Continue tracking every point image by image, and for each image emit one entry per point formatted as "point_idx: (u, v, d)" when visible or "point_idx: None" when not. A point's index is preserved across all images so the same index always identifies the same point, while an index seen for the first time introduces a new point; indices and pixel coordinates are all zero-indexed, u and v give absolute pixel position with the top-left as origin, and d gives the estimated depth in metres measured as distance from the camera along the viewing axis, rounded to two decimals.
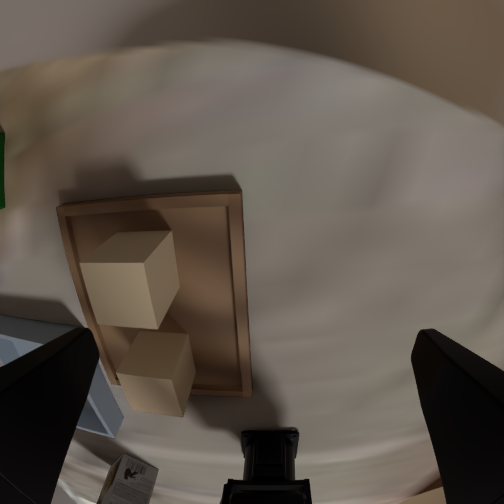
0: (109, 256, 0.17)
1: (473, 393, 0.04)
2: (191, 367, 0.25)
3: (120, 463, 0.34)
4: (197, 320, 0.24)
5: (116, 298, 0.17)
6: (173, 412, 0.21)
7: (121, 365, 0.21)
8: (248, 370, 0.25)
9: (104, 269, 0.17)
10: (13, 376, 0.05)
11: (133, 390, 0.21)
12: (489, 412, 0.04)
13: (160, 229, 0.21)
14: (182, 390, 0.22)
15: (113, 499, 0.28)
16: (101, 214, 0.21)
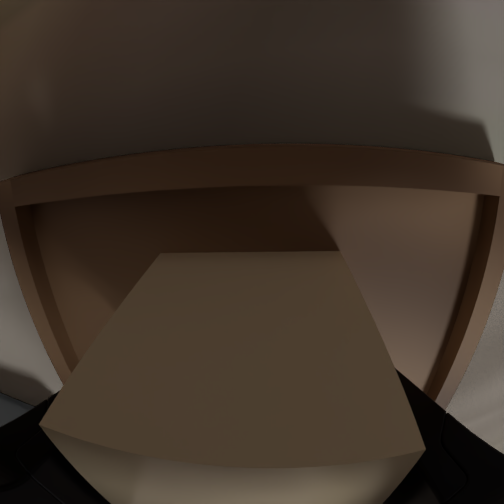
0: (183, 397, 0.03)
1: None
2: None
3: None
4: None
5: None
6: None
7: None
8: None
9: (180, 477, 0.03)
10: None
11: None
12: None
13: (305, 248, 0.07)
14: None
15: None
16: (113, 199, 0.07)
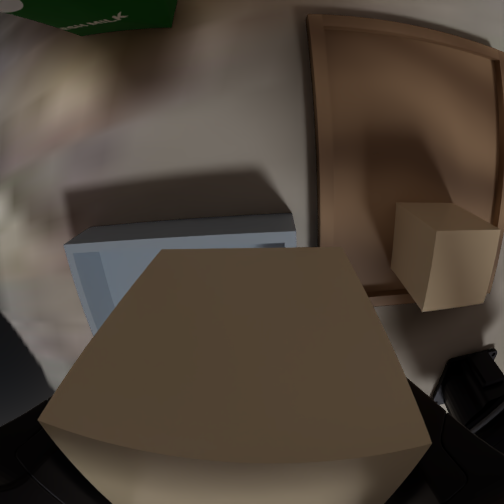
0: (185, 392, 0.03)
1: None
2: None
3: None
4: (465, 183, 0.17)
5: None
6: (477, 296, 0.14)
7: (429, 224, 0.14)
8: (499, 250, 0.18)
9: (182, 474, 0.03)
10: None
11: (447, 264, 0.13)
12: None
13: (441, 67, 0.14)
14: None
15: None
16: (372, 37, 0.14)
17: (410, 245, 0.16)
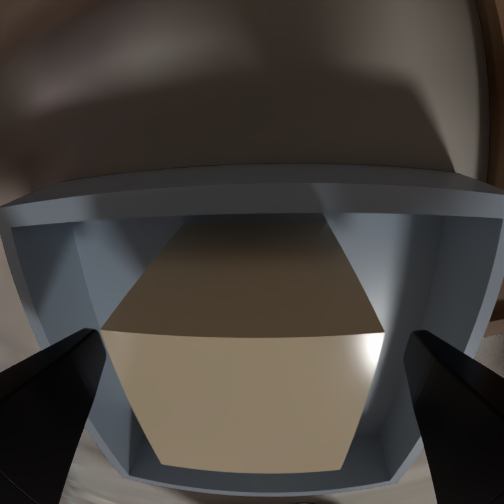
0: (212, 303, 0.05)
1: (464, 395, 0.04)
2: None
3: None
4: None
5: (238, 429, 0.05)
6: None
7: None
8: None
9: (209, 359, 0.05)
10: (20, 378, 0.05)
11: None
12: (480, 415, 0.04)
13: None
14: None
15: None
16: None
17: None
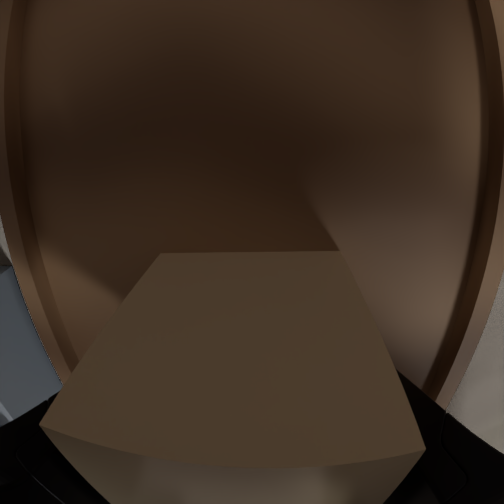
0: None
1: None
2: None
3: None
4: (382, 196, 0.07)
5: None
6: None
7: (72, 381, 0.04)
8: (471, 353, 0.08)
9: None
10: None
11: (145, 501, 0.03)
12: None
13: None
14: None
15: None
16: None
17: None
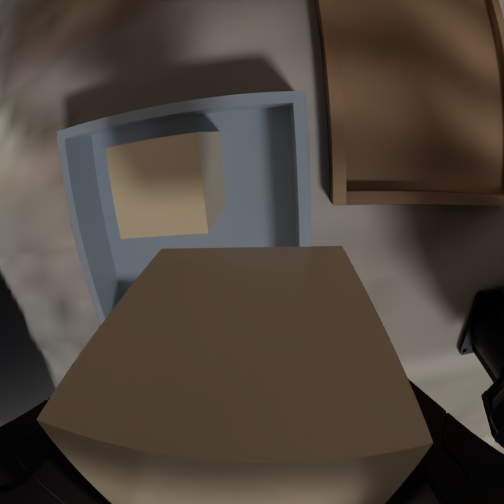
0: None
1: None
2: None
3: None
4: (471, 83, 0.14)
5: (152, 192, 0.13)
6: None
7: (70, 374, 0.03)
8: None
9: (140, 151, 0.13)
10: None
11: (145, 499, 0.03)
12: None
13: None
14: None
15: None
16: None
17: None
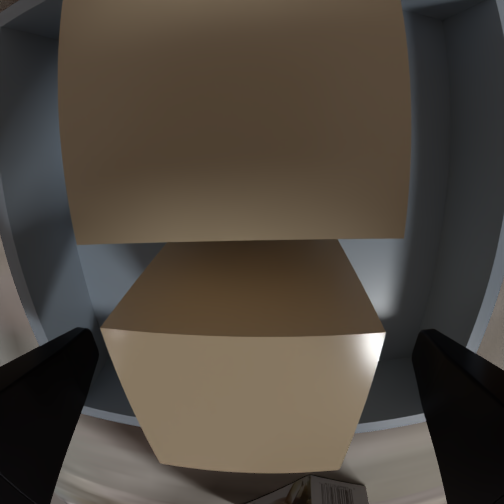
0: None
1: (474, 393, 0.04)
2: None
3: (311, 500, 0.14)
4: None
5: (209, 68, 0.03)
6: (315, 463, 0.06)
7: (125, 300, 0.05)
8: None
9: None
10: (12, 376, 0.05)
11: (173, 405, 0.05)
12: (489, 412, 0.04)
13: None
14: None
15: None
16: None
17: None
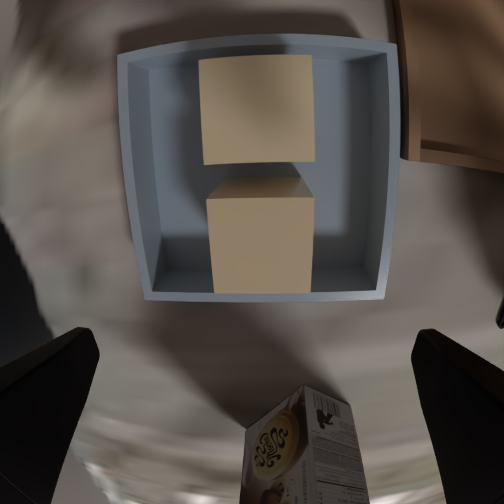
0: None
1: (473, 393, 0.04)
2: None
3: (305, 402, 0.23)
4: None
5: (254, 111, 0.11)
6: (296, 283, 0.14)
7: (212, 194, 0.14)
8: None
9: (244, 66, 0.11)
10: (13, 376, 0.05)
11: (231, 238, 0.13)
12: (489, 412, 0.04)
13: None
14: None
15: (320, 471, 0.17)
16: None
17: None
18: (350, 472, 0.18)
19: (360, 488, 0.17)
